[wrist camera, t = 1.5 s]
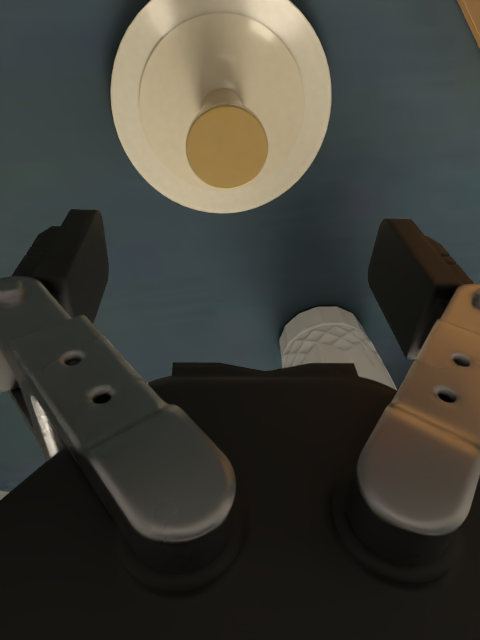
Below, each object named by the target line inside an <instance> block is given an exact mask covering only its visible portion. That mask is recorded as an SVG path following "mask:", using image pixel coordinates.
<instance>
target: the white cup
mask: <svg viewBox="0 0 480 640" xmlns="http://www.w3.org/2000/svg"><path fill="white" fill-rule="evenodd" d="M279 343H280V350H281V357H282V368H287V367H292V366H297V365H303V364H308V363H354V365H355V368H356V370H357V373H358V376H359V377H364V378H367V379H371V380H374V381H377V382H380V383H382V384H385V385H387V386H389V387H391V388H393V389H395V390H397V388H396V386H395V384H394V382H393V380H392V378H391V377H390V375H389V373H388V371H387V369H386V367H385V366H384V364H383V362H382V360H381V358H380V356H379V355H378V353H377V351H376V349H375V347H374V345H373V344H372V342H371V340H370V339H369V338H368V337H367V335H366V333H365V331H364V329H363V327H362V325H361V324H360V322H359V321H358V320H357V318H356V317H355V316H354V314H353V313H351V312H349V311H346V310H344V309H341V308H339V307H336V306H329V307H315V308H312V309H309V310H307V311H304V312H301V313H299V314H298V315H297V316H295V317H294V318H293V319H292V320H291V321H290V322H289V323H288V324H286V325H285V327H284V330H283V332H282V335H281V337H280V339H279ZM397 391H398V390H397Z"/></svg>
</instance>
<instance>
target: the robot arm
mask: <svg viewBox="0 0 480 640" xmlns="http://www.w3.org/2000/svg"><path fill="white" fill-rule="evenodd" d="M108 273H109V264H108V256H107V249H106V242H105V235H104V228H103V221H102V216H101V213H100V211H99V210H80V209H71V210H70V211H69V213H68V215H67V216H66V218H65V220H64V222H63V223H62V225H61V226H52V227H50V228H48V229H47V230H45V231H44V232H42V233H41V234H39V235H38V236H37V238H36V239H35V241H34V242H33V244H32V247H30V249H29V250H28V252H27V255H25V256H24V258H23V259H22V261H21V262H20V264H19V265H18V267H17V268H16V270H15V272H14V273H13V275H12V276H11V277H5V278H1V279H0V392H3V391H8V392H9V394H10V396H11V398H12V400H13V401H14V403H15V405H16V406H17V408H18V410H19V412H20V413H21V415H22V417H23V418H24V420H25V422H26V423H27V425H28V427H29V429H30V430H31V432H32V434H33V435H34V437H35V439H36V441H37V442H38V444H39V446H40V448H41V450H42V453H43V455H44V457H45V459H46V462H45V463H44V464H43V465H42V466H41V467H39V468H38V469H37V470H36V471H35V472H34V473H32V474H31V475H30V476H29V477H28V478H26V479H25V480H24V481H23V482H22V483H21V484H19V485H18V486H17V487H16V488H15V489H13V490H12V491H11V492H10V493H9V494H7V495H6V496H5V497H4V498H3V499H2V500H0V640H480V284H474V283H473V282H472V281H471V279H470V278H469V277H468V276H467V275H466V274H465V272H464V271H463V270H462V269H461V268H460V267H459V265H456V262H455V261H454V259H453V258H452V257H449V254H448V252H447V251H446V250H445V249H444V248H443V246H442V245H440V244H439V243H437V242H436V241H434V240H432V239H431V238H429V237H428V236H424V234H423V233H422V232H421V231H420V229H419V228H418V227H417V226H416V224H415V223H414V222H413V221H412V220H411V219H384V220H383V221H382V222H381V224H380V227H379V230H378V234H377V238H376V241H375V245H374V249H373V253H372V256H371V260H370V264H369V269H368V282H369V286H370V288H371V290H372V292H373V294H374V296H375V298H376V300H377V302H378V304H379V306H380V308H381V310H382V312H383V314H384V316H385V318H386V320H387V322H388V324H389V326H390V328H391V330H392V331H393V333H394V335H395V337H396V339H397V341H398V343H399V345H400V347H401V349H402V351H403V353H404V355H405V357H406V359H415V360H414V362H413V364H412V366H411V368H410V369H409V371H408V373H407V375H406V377H405V378H404V380H403V382H402V384H401V386H400V387H399V389H398V391H397V390H395V389H393V388H391V387H389V386H387V385H385V384H382V383H380V382H377V381H374V380H371V379H367V378H364V377H359V376H358V373H357V370H356V368H355V365H354V363H308V364H303V365H297V366H292V367H287V368H282V369H277V370H272V371H260V370H255V369H250V368H244V367H239V366H234V365H228V364H223V363H173V370H172V376H169V377H164V378H161V379H157V380H154V381H152V382H149V383H146V381H145V380H144V379H143V378H142V377H141V376H140V375H139V374H138V373H137V372H136V371H135V369H134V368H133V367H132V366H131V365H130V364H129V363H128V362H127V361H126V360H125V358H124V357H123V356H122V355H121V354H120V353H119V352H118V351H117V350H116V349H115V347H114V346H113V345H112V344H111V343H110V342H109V341H108V340H107V339H106V338H105V337H104V335H103V334H102V333H101V332H100V331H99V330H98V329H97V328H96V327H95V326H94V324H93V323H94V320H95V317H96V314H97V311H98V308H99V305H100V302H101V299H102V296H103V293H104V290H105V287H106V284H107V281H108Z"/></svg>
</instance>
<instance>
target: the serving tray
mask: <svg viewBox="0 0 480 640" xmlns="http://www.w3.org/2000/svg"><path fill="white" fill-rule="evenodd" d="M457 1H458V4H459V6H460V8H461V10H462V12H463V14H464V16H465V18H466V21H467V23H468V25H469V27H470V29H471V31H472V33H473V36H474V38H475V40H476V42H477V44H478V46H479V48H480V0H457Z"/></svg>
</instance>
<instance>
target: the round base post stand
mask: <svg viewBox="0 0 480 640" xmlns="http://www.w3.org/2000/svg"><path fill="white" fill-rule="evenodd" d="M110 91H111V108H112V113H113V119H114V124H115V127H116V130H117V134H118V137H119V139H120V141H121V144H122V146H123V148H124V151H125V152H126V154H127V156H128V157H129V159H130V161H131V163H132V164H133V165H134V167H135V168H136V169H137V171H138V172H139V173H140V174H141V175H142V177H143V178H144V179H145V180H146V181H147V182H148V183H149V184H150V185H151V186H153V187H154V188H155V189H156V190H158V191H159V192H160V193H161V194H163V195H165V196H166V197H168V198H169V199H171V200H173V201H175V202H177V203H179V204H181V205H183V206H186V207H189V208H192V209H195V210H199V211H204V212H211V213H234V212H241V211H246V210H249V209H253V208H256V207H259V206H261V205H263V204H266V203H268V202H270V201H272V200H273V199H275V198H277V197H279V196H280V195H281V194H283V193H284V192H285V191H287V190H288V189H289V188H290V187H292V186H293V185H294V184H295V183H296V182H297V181H298V180H299V179H300V178H301V176H302V175H303V174H304V173H305V172H306V170H307V169H308V168H309V166H310V165H311V163H312V162H313V160H314V159H315V157H316V155H317V153H318V151H319V149H320V147H321V145H322V142H323V139H324V136H325V134H326V131H327V127H328V122H329V118H330V110H331V101H332V99H331V79H330V72H329V67H328V63H327V59H326V55H325V52H324V50H323V48H322V45H321V43H320V40H319V38H318V36H317V34H316V33H315V31H314V29H313V27H312V26H311V24H310V23H309V21H308V20H307V19H306V17H305V16H304V15H303V14H302V12H301V11H300V10H299V9H298V8H297V7H296V6H295V5H294V4H293V3H292V2H291V1H290V0H150V1H149V2H148V3H147V4H146V5H145V6H144V7H143V8H142V9H141V10H140V12H139V13H138V14H137V15H136V17H135V18H134V19H133V21H132V22H131V24H130V25H129V27H128V28H127V30H126V32H125V34H124V36H123V38H122V40H121V42H120V45H119V48H118V51H117V54H116V57H115V60H114V65H113V70H112V77H111V90H110Z"/></svg>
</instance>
